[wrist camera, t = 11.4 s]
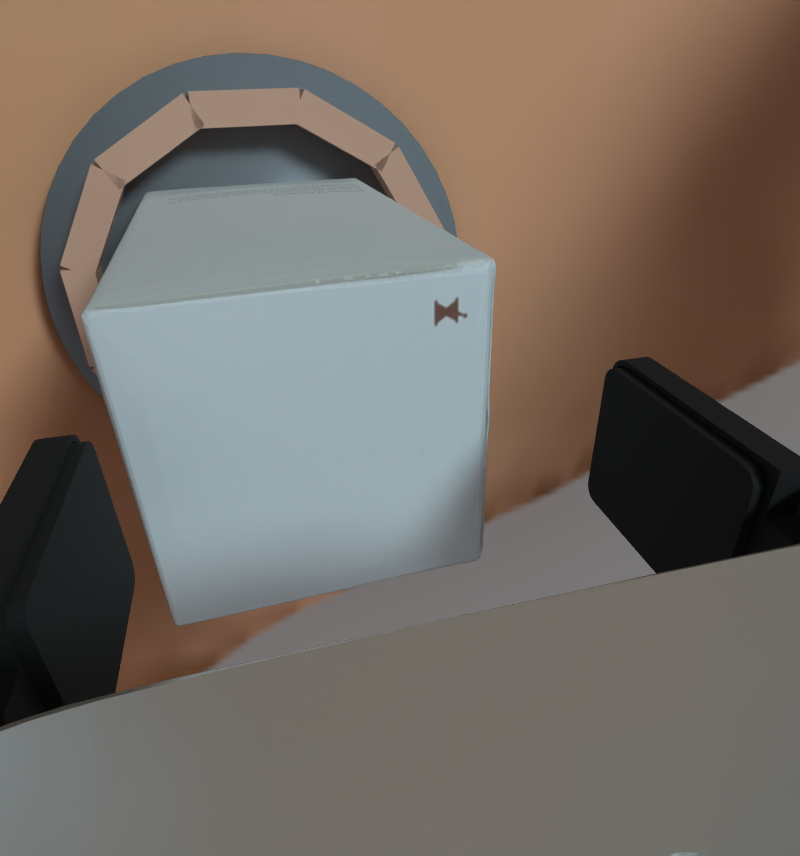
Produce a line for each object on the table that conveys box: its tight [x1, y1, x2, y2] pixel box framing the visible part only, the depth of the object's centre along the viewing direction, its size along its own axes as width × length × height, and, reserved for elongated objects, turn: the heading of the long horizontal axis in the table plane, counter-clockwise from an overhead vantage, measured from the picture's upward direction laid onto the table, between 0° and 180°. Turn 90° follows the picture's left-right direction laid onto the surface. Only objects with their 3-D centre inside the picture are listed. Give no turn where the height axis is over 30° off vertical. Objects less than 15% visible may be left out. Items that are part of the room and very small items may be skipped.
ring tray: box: [40, 53, 457, 399], centre depth 22 cm, size 15×15×2 cm
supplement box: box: [81, 178, 496, 626], centre depth 17 cm, size 7×7×13 cm
